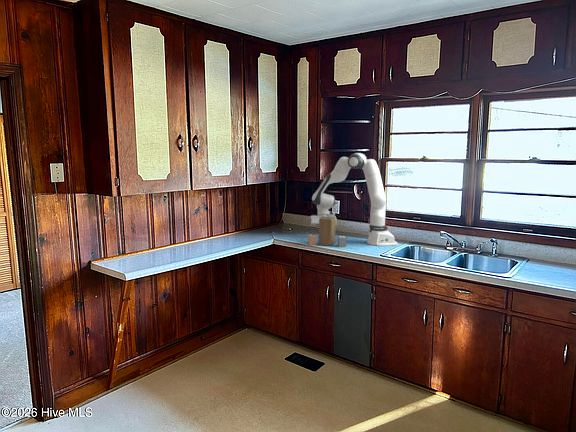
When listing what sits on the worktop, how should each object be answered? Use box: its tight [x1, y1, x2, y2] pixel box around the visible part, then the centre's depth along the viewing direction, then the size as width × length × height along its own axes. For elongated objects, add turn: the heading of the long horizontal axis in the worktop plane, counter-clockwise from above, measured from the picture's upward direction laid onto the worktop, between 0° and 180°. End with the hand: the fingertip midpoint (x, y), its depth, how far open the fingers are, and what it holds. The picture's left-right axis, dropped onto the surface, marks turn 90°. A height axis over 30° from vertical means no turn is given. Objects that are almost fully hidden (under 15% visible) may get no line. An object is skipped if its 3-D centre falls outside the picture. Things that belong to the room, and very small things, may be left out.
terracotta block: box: [308, 233, 317, 246], centre depth 312 cm, size 5×5×8 cm
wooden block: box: [318, 217, 337, 247], centre depth 313 cm, size 10×10×20 cm
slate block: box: [337, 235, 347, 248], centre depth 308 cm, size 5×5×8 cm
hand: (324, 229), depth 324 cm, fingers closed
